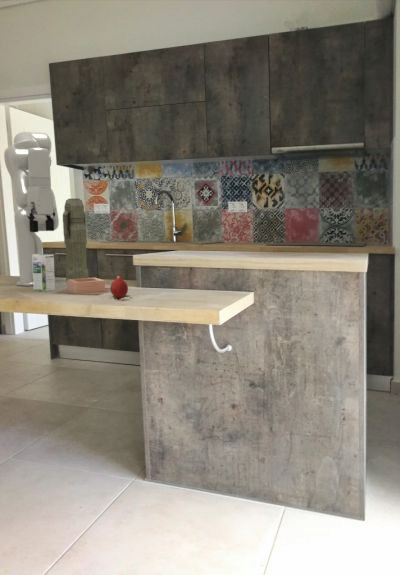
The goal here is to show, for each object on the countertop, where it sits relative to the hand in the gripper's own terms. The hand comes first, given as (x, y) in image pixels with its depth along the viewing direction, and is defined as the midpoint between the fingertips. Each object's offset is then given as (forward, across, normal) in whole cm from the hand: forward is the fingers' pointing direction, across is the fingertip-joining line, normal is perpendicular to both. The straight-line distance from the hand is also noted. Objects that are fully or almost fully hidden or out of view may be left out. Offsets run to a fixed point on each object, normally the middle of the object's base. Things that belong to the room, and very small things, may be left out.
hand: (42, 231), depth 194 cm
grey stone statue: (+23, -19, +2) cm, 30 cm away
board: (+23, -2, +16) cm, 28 cm away
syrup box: (+23, -1, -1) cm, 23 cm away
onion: (+23, +6, +33) cm, 41 cm away
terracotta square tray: (+22, -2, +16) cm, 27 cm away
